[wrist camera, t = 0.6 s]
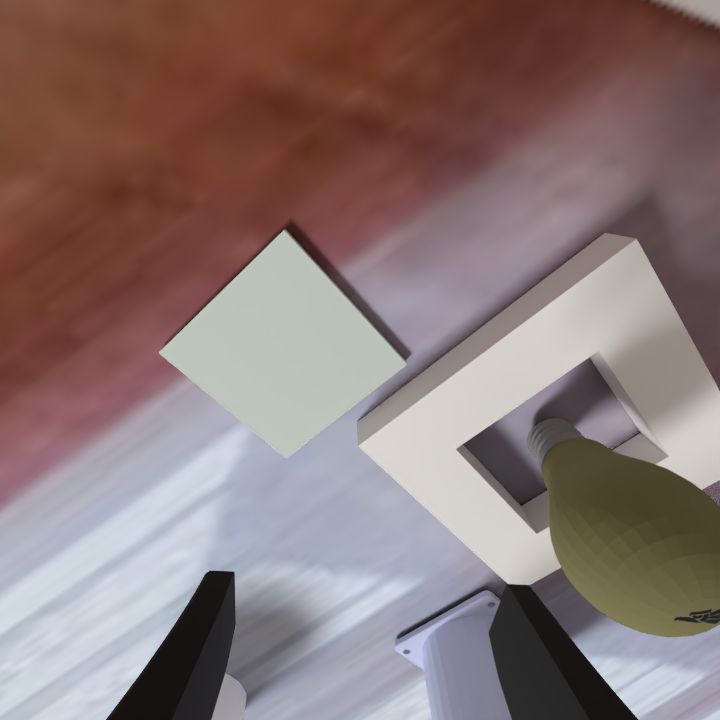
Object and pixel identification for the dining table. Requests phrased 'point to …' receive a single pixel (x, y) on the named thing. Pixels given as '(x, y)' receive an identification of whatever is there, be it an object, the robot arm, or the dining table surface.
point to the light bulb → (630, 534)
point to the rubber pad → (284, 348)
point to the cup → (230, 700)
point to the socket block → (532, 374)
